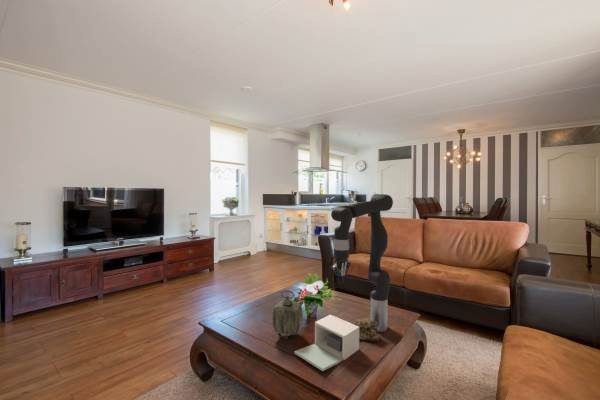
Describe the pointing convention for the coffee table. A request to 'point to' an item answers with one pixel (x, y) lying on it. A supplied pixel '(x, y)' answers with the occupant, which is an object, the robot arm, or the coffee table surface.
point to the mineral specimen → (367, 329)
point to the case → (337, 336)
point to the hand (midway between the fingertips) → (340, 282)
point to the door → (318, 357)
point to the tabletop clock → (287, 316)
